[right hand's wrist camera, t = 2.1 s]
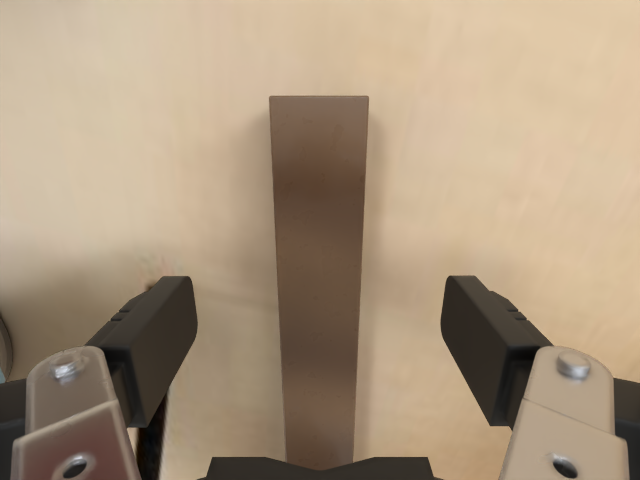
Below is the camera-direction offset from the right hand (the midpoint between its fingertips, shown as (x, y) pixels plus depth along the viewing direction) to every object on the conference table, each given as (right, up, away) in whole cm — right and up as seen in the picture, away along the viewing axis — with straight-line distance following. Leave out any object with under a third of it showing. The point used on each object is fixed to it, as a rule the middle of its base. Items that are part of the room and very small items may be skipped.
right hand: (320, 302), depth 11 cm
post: (0, -21, +23) cm, 32 cm away
